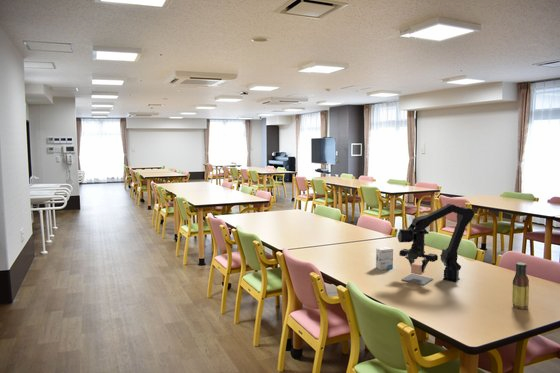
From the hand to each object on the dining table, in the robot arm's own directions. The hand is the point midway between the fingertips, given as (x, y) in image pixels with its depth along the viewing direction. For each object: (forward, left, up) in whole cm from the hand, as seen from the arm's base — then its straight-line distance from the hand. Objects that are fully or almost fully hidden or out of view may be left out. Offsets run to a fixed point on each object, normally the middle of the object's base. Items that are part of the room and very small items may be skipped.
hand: (417, 271), depth 216 cm
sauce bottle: (-49, +5, -5) cm, 49 cm away
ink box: (+23, -7, -5) cm, 25 cm away
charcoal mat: (0, 0, -5) cm, 5 cm away
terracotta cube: (0, 0, -1) cm, 1 cm away
